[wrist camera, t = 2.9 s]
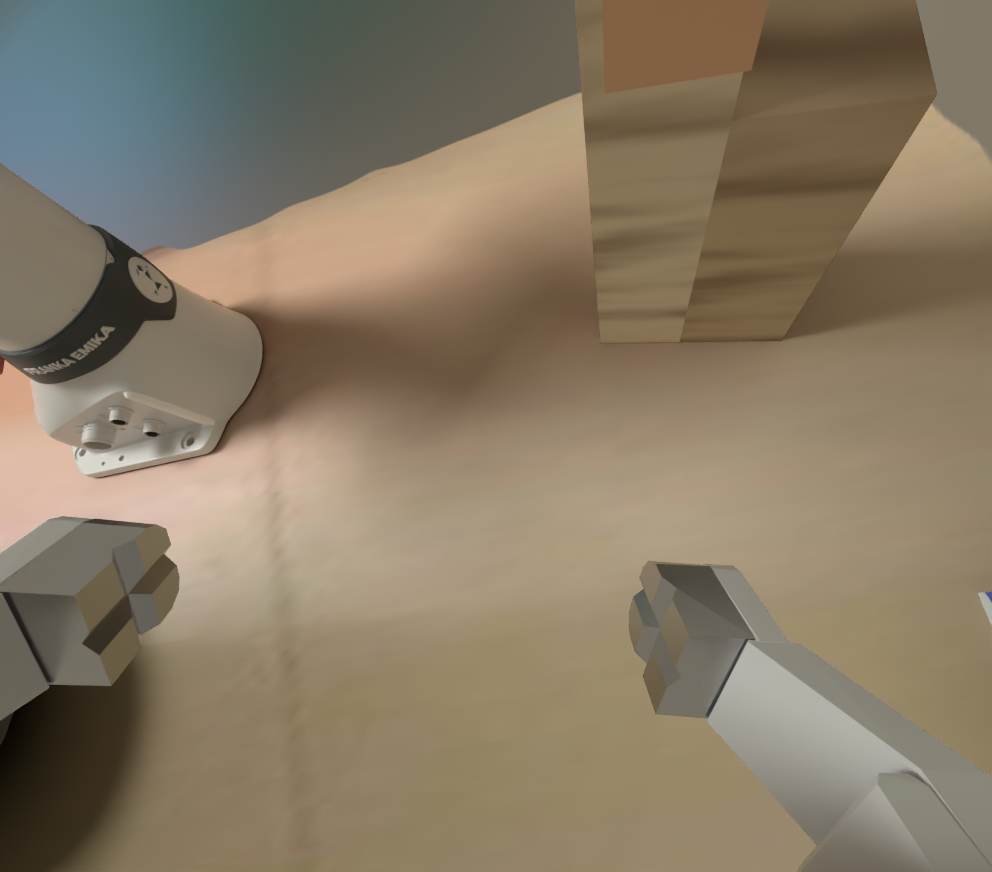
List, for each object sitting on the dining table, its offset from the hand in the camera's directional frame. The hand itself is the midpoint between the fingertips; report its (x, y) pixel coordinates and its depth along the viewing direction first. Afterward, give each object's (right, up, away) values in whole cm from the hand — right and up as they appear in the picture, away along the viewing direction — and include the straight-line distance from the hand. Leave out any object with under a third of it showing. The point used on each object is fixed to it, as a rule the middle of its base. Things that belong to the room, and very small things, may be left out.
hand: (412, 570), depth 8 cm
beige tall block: (+16, +13, +29) cm, 35 cm away
